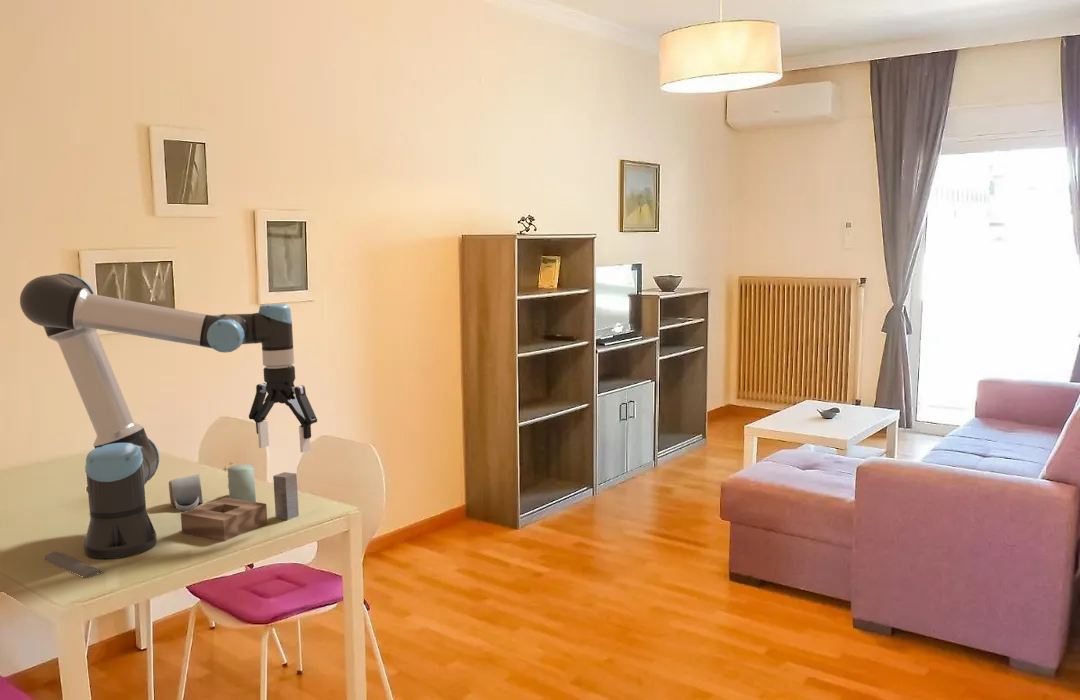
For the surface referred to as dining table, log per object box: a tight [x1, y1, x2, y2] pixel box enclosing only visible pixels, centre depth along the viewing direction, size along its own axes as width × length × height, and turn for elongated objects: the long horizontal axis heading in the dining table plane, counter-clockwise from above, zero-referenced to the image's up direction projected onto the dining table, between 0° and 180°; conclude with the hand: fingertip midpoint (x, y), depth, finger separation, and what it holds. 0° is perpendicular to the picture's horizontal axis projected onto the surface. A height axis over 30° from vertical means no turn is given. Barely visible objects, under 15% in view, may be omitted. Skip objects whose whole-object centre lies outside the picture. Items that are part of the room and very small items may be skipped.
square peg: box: [272, 471, 300, 521], centre depth 221 cm, size 4×4×11 cm
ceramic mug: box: [168, 474, 204, 512], centre depth 232 cm, size 11×8×8 cm
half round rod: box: [43, 551, 104, 579], centre depth 190 cm, size 4×20×2 cm, turn 53°
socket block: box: [180, 497, 268, 542], centre depth 213 cm, size 14×14×5 cm
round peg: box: [227, 464, 257, 502], centre depth 229 cm, size 6×6×11 cm
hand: (284, 449), depth 220 cm, fingers open, 13 cm apart
